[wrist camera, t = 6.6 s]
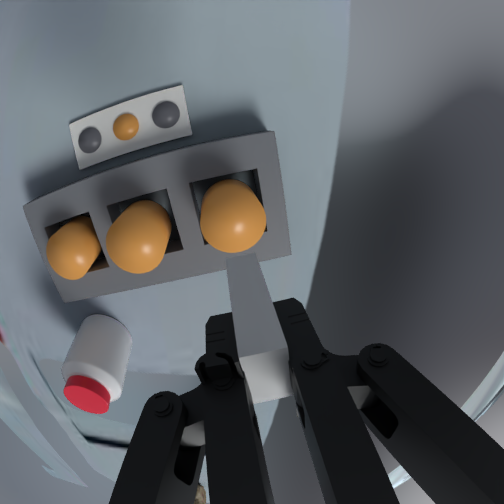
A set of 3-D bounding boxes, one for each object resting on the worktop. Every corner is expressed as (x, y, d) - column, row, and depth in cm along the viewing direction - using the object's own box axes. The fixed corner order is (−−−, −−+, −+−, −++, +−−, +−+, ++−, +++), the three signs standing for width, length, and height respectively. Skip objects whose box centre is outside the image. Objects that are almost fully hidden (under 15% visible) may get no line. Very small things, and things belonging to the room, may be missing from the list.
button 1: (208, 237, 26) (208, 258, 22) (196, 185, 24) (193, 198, 20) (260, 225, 26) (270, 245, 22) (251, 173, 24) (260, 184, 20)
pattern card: (81, 169, 23) (78, 170, 23) (70, 124, 21) (68, 124, 20) (192, 134, 24) (192, 134, 23) (182, 85, 22) (182, 84, 21)
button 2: (74, 263, 27) (59, 283, 23) (58, 222, 24) (39, 239, 20) (110, 253, 27) (96, 274, 23) (94, 210, 25) (77, 225, 21)
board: (73, 289, 29) (64, 303, 26) (36, 198, 23) (22, 206, 21) (284, 242, 30) (291, 254, 28) (267, 130, 25) (274, 131, 22)
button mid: (130, 255, 25) (118, 278, 21) (114, 207, 23) (97, 224, 19) (177, 243, 26) (172, 266, 22) (163, 193, 24) (154, 208, 20)
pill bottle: (125, 362, 35) (112, 425, 25) (77, 342, 32) (54, 401, 22) (139, 329, 33) (124, 398, 23) (85, 304, 30) (55, 368, 20)
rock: (212, 503, 62) (203, 513, 53) (177, 502, 62) (166, 510, 53) (206, 477, 67) (197, 485, 59) (172, 477, 68) (160, 483, 59)
